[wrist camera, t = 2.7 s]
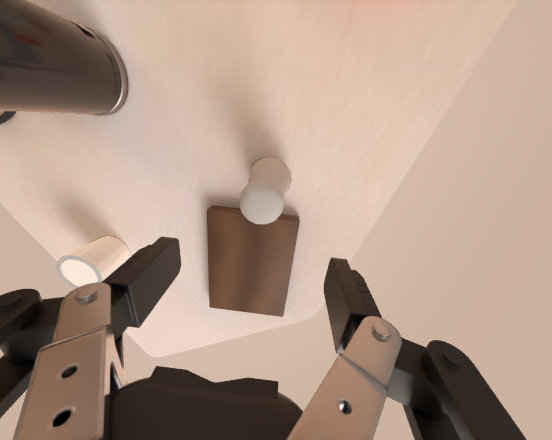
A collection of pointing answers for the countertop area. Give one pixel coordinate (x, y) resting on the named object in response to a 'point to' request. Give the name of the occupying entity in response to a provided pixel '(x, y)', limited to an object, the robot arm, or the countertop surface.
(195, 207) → the countertop surface
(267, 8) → the countertop surface
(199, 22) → the countertop surface
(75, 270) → the white short cylinder
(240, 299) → the cutting board
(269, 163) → the salt shaker
